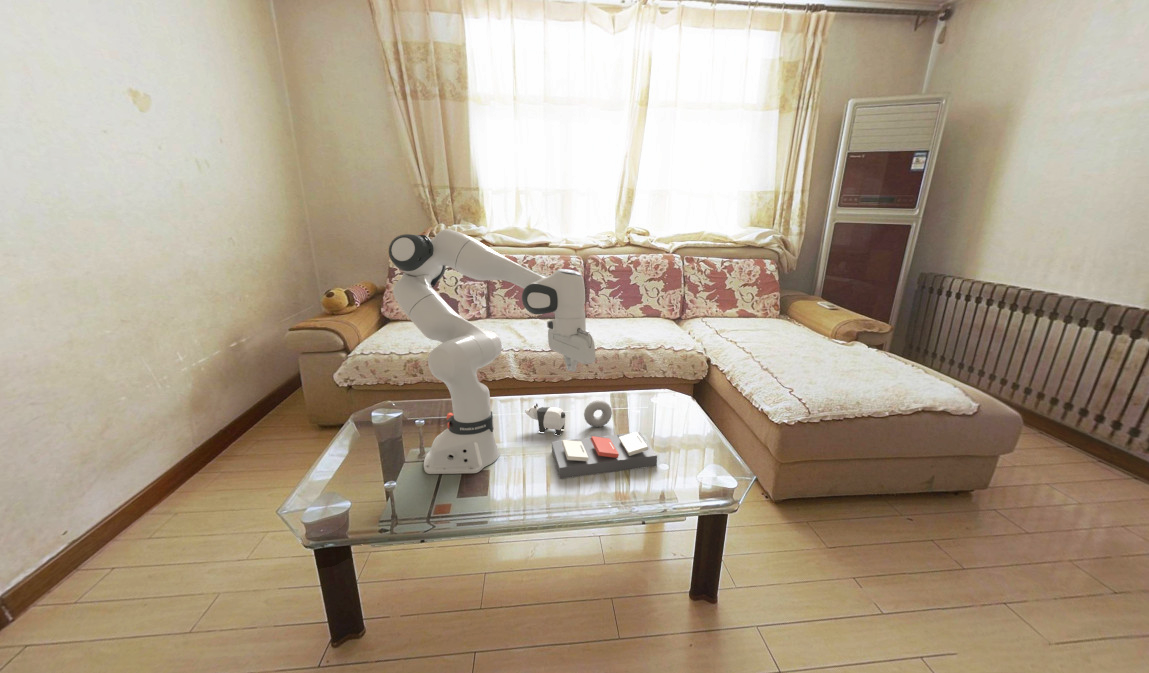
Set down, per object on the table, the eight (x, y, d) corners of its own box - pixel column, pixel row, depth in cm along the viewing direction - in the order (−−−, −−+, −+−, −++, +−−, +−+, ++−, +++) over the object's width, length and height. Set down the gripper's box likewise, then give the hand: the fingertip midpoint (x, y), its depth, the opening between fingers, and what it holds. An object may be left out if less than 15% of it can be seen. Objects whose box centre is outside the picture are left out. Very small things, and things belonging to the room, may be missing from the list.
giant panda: (568, 429, 147) (567, 404, 145) (562, 437, 142) (562, 411, 139) (529, 424, 151) (528, 400, 149) (523, 431, 146) (521, 406, 144)
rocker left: (567, 459, 118) (568, 455, 118) (561, 443, 127) (562, 439, 127) (587, 461, 120) (588, 457, 119) (580, 444, 129) (581, 441, 128)
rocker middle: (598, 455, 120) (599, 451, 120) (590, 439, 129) (591, 435, 129) (617, 457, 121) (618, 453, 121) (608, 442, 130) (609, 438, 130)
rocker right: (629, 456, 122) (628, 452, 121) (619, 440, 131) (618, 436, 131) (648, 449, 123) (647, 446, 122) (637, 434, 132) (636, 431, 131)
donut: (585, 430, 146) (585, 403, 144) (583, 425, 150) (582, 399, 147) (613, 427, 148) (613, 401, 146) (610, 423, 151) (610, 397, 149)
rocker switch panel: (559, 478, 118) (559, 465, 117) (552, 451, 133) (551, 439, 131) (656, 466, 124) (657, 453, 123) (639, 441, 138) (639, 429, 137)
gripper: (600, 330, 115) (600, 378, 119) (561, 318, 132) (562, 360, 135) (581, 334, 112) (582, 382, 115) (543, 321, 128) (545, 364, 132)
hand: (571, 370), depth 125 cm, fingers closed
